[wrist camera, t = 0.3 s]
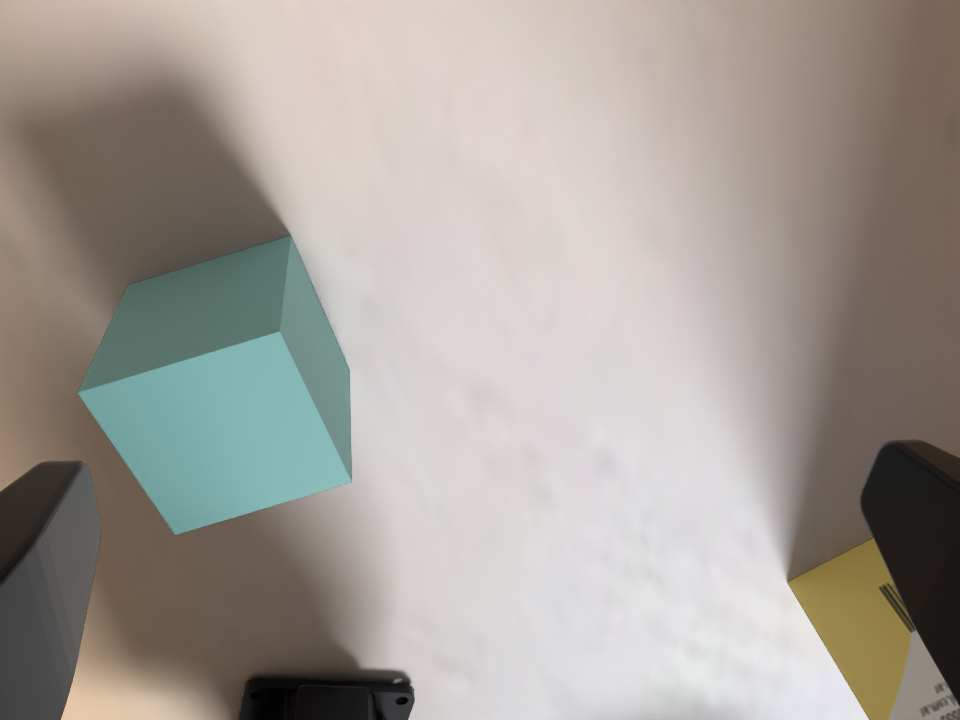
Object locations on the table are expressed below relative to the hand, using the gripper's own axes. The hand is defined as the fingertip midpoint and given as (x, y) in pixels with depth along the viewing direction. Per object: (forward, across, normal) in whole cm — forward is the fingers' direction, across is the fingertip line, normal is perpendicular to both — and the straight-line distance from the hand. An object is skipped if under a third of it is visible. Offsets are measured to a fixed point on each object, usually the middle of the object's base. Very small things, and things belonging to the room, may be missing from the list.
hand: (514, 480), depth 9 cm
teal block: (+13, +4, +6) cm, 15 cm away
